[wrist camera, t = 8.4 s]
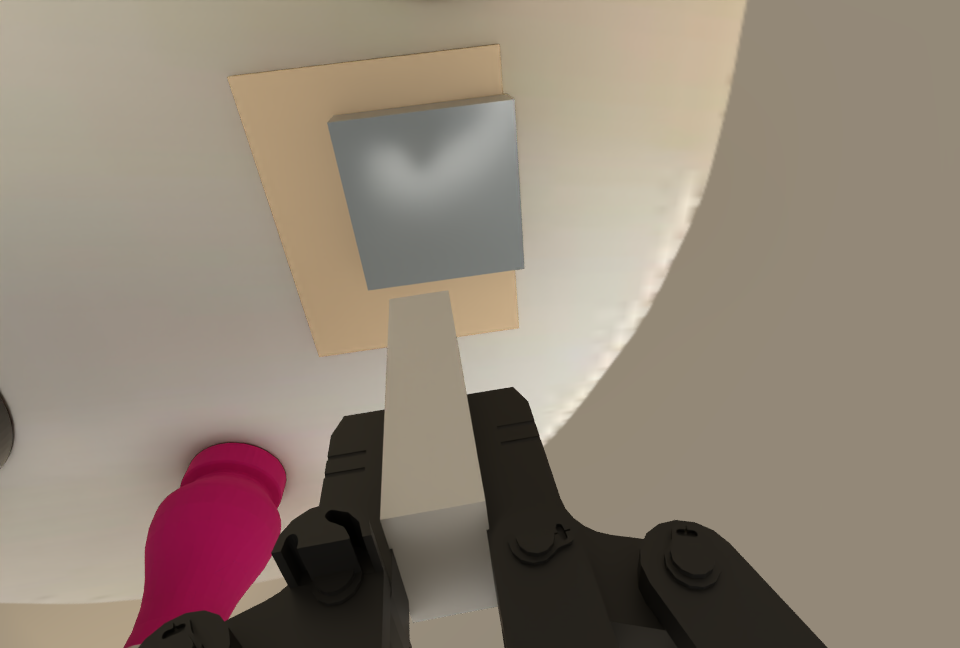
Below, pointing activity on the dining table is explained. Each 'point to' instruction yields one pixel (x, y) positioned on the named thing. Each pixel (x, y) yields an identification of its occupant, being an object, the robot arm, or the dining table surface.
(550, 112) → the dining table surface
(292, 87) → the mat
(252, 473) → the pepper mill
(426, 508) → the robot arm
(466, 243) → the tile
